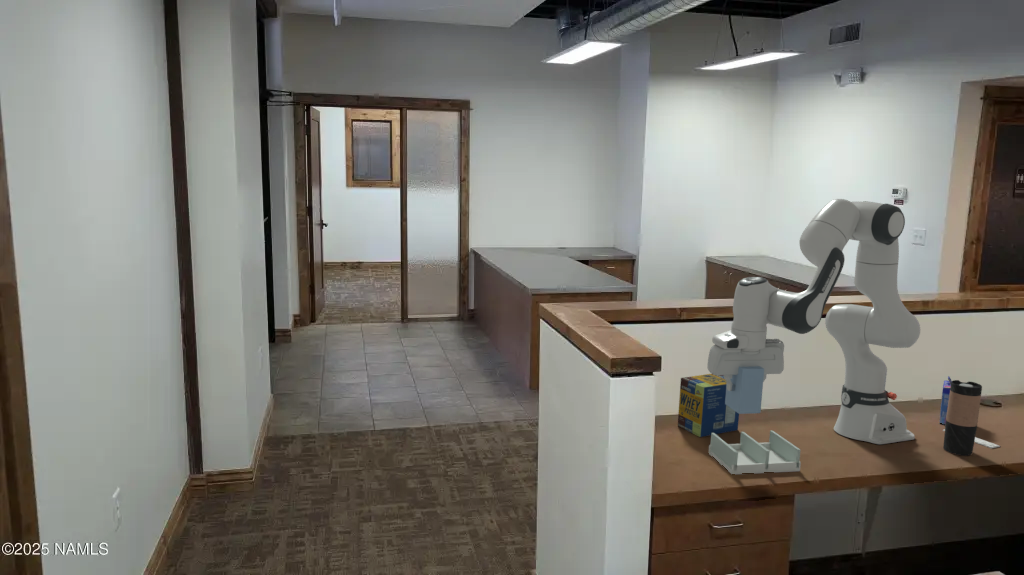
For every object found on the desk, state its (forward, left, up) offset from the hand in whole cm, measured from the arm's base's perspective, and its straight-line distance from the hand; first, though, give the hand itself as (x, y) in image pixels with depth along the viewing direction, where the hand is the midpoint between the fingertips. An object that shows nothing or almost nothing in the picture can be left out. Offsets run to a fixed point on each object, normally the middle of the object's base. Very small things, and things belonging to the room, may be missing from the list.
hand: (743, 390), depth 190 cm
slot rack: (-4, 0, -20) cm, 21 cm away
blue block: (0, 0, -5) cm, 5 cm away
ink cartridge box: (-85, -24, -21) cm, 91 cm away
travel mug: (-68, -1, -21) cm, 71 cm away
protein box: (-3, -26, -21) cm, 33 cm away
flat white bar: (-81, -10, -21) cm, 84 cm away
